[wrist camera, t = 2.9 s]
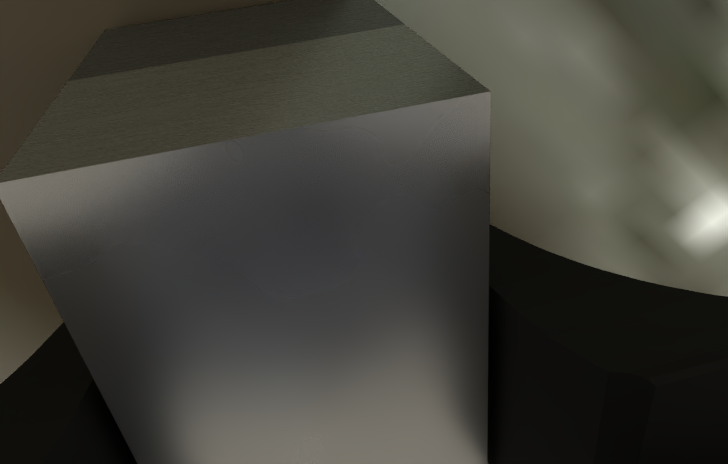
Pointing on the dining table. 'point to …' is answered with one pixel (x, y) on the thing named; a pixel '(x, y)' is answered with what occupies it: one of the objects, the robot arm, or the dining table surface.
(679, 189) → the dining table surface
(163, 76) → the housing
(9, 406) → the robot arm
